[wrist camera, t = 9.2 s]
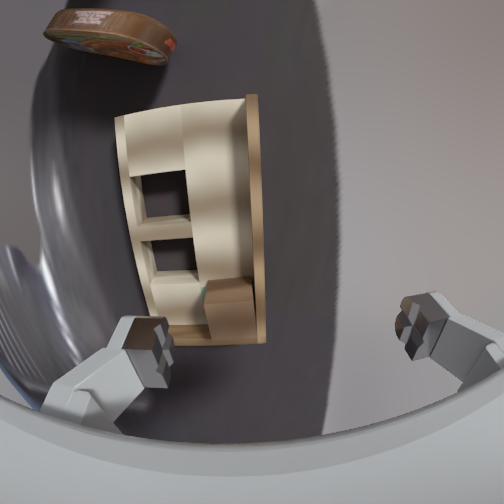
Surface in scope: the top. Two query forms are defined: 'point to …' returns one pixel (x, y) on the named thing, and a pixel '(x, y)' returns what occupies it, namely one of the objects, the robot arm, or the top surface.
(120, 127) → the board
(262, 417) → the top surface
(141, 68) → the top surface
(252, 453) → the robot arm
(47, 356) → the top surface
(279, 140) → the top surface
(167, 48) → the tin
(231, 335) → the walnut block
